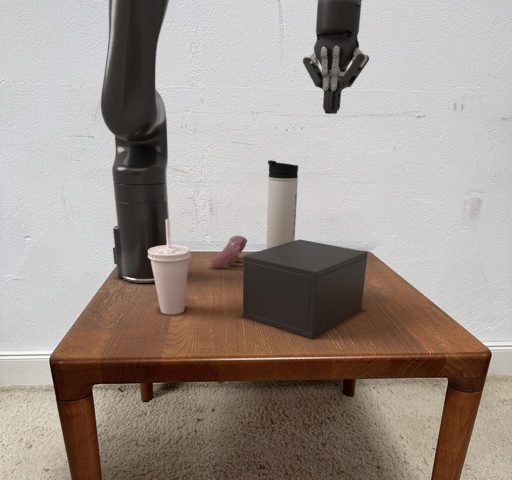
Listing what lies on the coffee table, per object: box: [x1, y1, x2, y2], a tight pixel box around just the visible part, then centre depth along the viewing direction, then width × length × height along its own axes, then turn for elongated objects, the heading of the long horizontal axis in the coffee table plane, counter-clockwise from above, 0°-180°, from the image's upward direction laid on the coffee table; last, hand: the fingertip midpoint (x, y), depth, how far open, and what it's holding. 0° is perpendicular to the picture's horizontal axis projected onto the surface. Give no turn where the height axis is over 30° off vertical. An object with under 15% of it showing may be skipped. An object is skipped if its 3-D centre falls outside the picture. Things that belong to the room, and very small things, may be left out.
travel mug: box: [265, 159, 299, 249], centre depth 106 cm, size 6×7×20 cm
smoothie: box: [148, 218, 192, 315], centre depth 74 cm, size 6×6×14 cm
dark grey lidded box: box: [242, 239, 369, 339], centre depth 75 cm, size 15×13×10 cm
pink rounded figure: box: [210, 234, 248, 269], centre depth 101 cm, size 10×5×7 cm, turn 168°
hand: (331, 113), depth 91 cm, fingers closed
